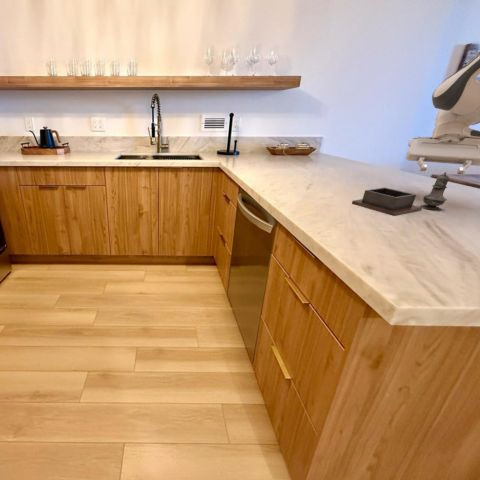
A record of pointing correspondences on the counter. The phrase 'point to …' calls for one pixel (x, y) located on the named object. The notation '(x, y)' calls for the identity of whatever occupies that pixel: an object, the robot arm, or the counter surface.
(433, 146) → the robot arm
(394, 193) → the dark grey square tray
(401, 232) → the counter surface
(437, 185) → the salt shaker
